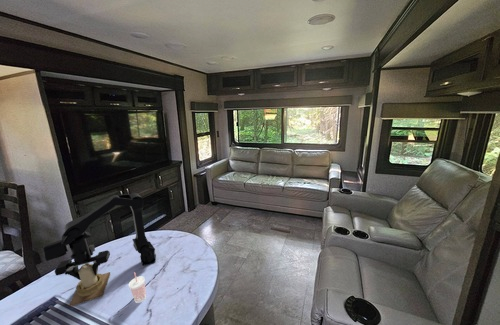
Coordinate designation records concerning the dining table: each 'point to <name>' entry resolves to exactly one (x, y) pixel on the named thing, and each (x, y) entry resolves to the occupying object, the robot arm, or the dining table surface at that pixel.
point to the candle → (87, 275)
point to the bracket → (90, 290)
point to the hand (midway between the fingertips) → (88, 277)
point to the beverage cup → (138, 288)
